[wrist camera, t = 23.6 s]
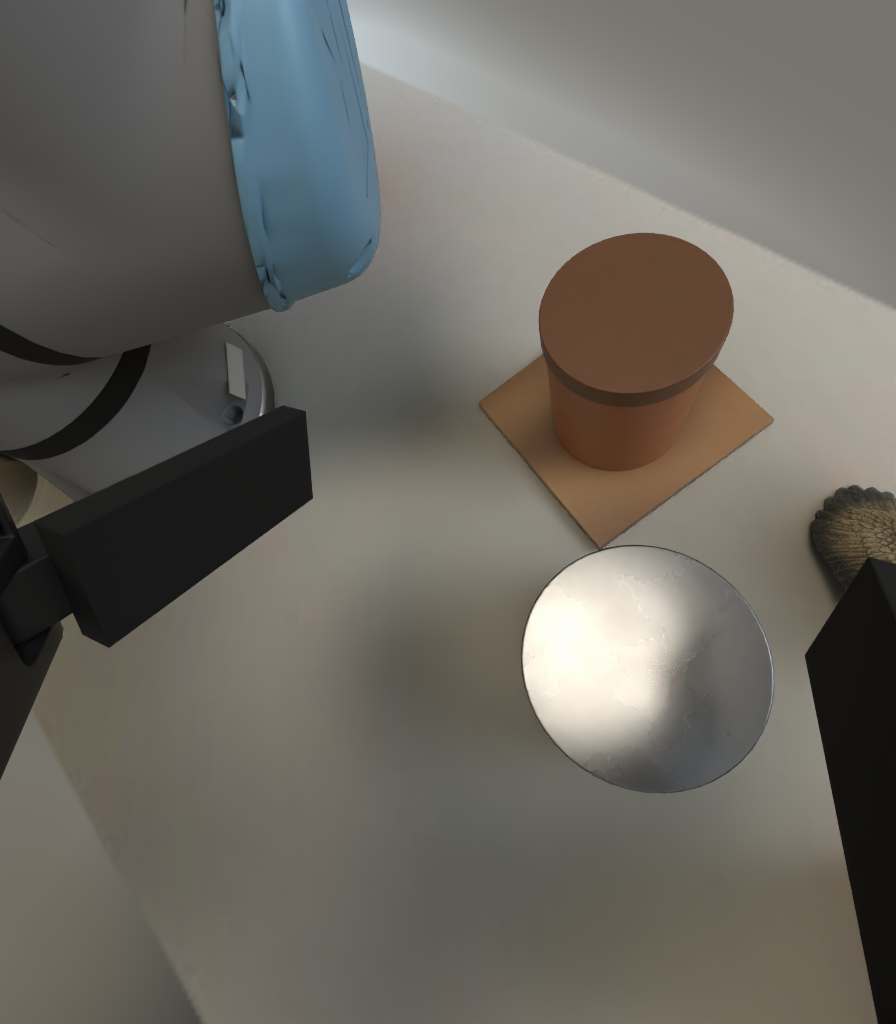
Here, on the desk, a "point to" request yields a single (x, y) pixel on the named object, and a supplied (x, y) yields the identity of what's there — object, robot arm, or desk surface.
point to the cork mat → (630, 493)
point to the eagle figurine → (856, 530)
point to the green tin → (647, 669)
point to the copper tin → (631, 344)
